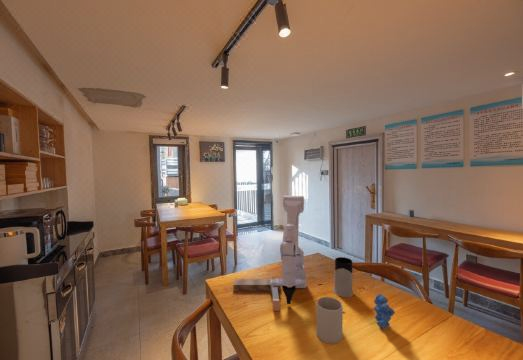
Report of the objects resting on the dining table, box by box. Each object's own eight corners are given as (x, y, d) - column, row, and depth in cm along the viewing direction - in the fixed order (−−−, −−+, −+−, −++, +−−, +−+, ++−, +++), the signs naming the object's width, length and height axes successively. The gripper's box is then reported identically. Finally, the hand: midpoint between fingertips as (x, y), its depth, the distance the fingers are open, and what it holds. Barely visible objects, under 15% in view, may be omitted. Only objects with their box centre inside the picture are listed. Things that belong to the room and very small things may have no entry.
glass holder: (332, 295, 105) (332, 262, 105) (335, 281, 118) (335, 252, 118) (353, 298, 102) (353, 265, 101) (353, 284, 115) (353, 254, 115)
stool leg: (270, 290, 109) (270, 282, 108) (277, 290, 109) (277, 282, 108) (272, 310, 93) (272, 300, 93) (280, 310, 93) (280, 300, 93)
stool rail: (279, 285, 115) (279, 275, 114) (281, 295, 105) (281, 284, 105) (234, 285, 115) (234, 275, 114) (232, 295, 105) (232, 284, 105)
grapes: (401, 340, 77) (401, 304, 76) (379, 337, 78) (379, 302, 78) (389, 318, 88) (389, 287, 88) (370, 316, 90) (370, 285, 89)
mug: (340, 347, 74) (340, 313, 74) (313, 338, 78) (313, 306, 77) (345, 325, 85) (345, 295, 84) (321, 318, 88) (322, 290, 88)
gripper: (271, 274, 92) (271, 308, 93) (308, 274, 92) (308, 308, 93) (270, 267, 99) (270, 298, 100) (304, 267, 99) (304, 298, 100)
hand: (288, 302), depth 97 cm, fingers closed
